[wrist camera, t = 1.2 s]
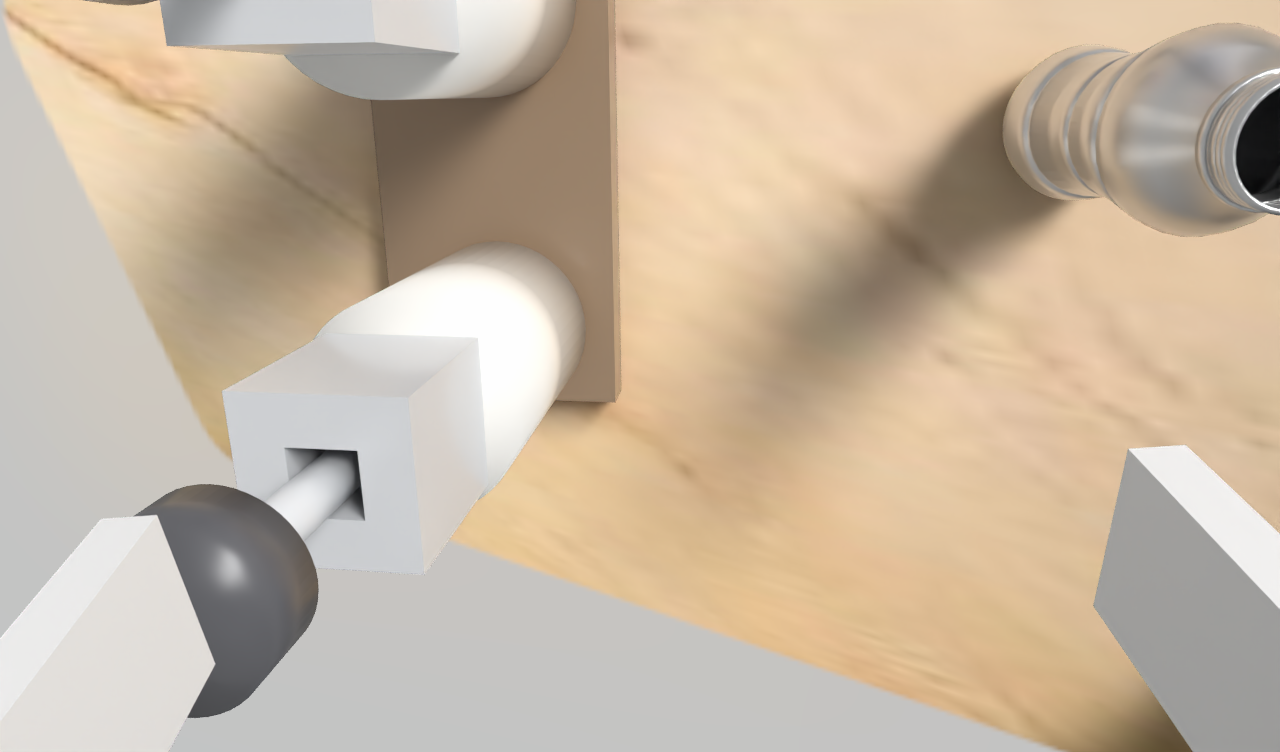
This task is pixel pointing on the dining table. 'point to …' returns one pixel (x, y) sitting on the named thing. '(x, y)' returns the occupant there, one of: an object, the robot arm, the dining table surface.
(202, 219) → the dining table surface
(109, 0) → the plunger
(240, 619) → the plunger
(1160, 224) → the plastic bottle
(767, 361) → the dining table surface
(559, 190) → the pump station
